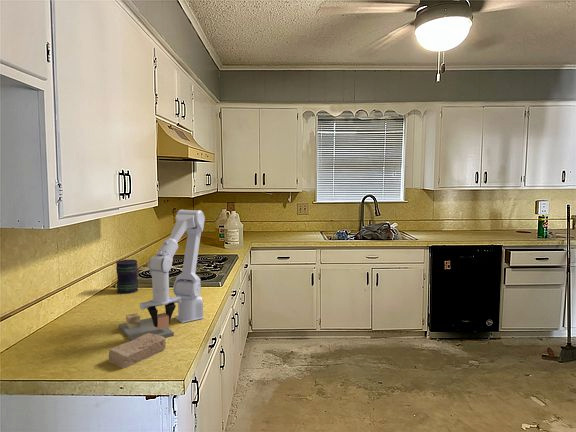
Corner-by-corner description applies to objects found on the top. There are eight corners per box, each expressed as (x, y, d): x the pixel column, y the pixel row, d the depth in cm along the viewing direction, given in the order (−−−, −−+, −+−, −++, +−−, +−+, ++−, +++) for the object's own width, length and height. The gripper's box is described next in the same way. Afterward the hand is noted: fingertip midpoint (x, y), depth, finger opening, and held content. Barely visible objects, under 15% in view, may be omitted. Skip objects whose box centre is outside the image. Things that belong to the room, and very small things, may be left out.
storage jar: (141, 291, 206) (140, 261, 204) (121, 295, 199) (120, 264, 198) (133, 287, 213) (132, 258, 212) (113, 290, 206) (112, 261, 205)
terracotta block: (165, 323, 154) (164, 312, 154) (169, 326, 151) (168, 315, 151) (154, 325, 152) (154, 314, 151) (158, 328, 149) (157, 317, 148)
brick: (124, 369, 125) (124, 354, 124) (107, 362, 129) (106, 348, 129) (167, 350, 139) (166, 337, 138) (150, 345, 143) (149, 331, 143)
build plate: (155, 319, 166) (155, 316, 166) (173, 335, 150) (173, 332, 150) (119, 327, 158) (118, 324, 158) (134, 344, 142) (133, 341, 142)
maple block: (137, 323, 159) (137, 313, 159) (140, 326, 156) (140, 315, 155) (126, 325, 157) (126, 315, 156) (129, 328, 154) (129, 318, 153)
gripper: (143, 294, 142) (145, 332, 144) (184, 287, 151) (184, 323, 152) (137, 289, 148) (138, 326, 150) (176, 283, 157) (177, 318, 158)
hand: (161, 324), depth 151 cm, fingers closed on terracotta block, 4 cm apart
